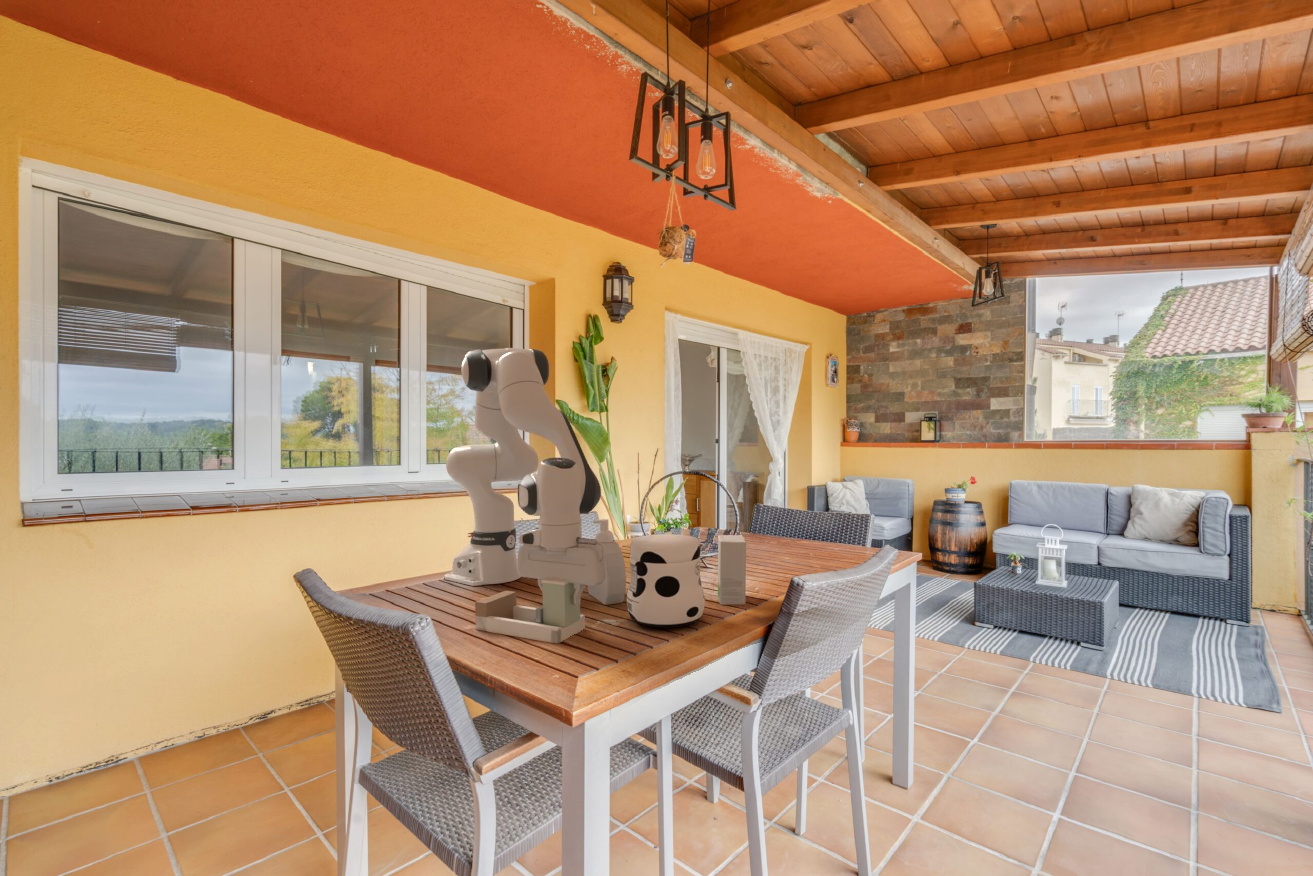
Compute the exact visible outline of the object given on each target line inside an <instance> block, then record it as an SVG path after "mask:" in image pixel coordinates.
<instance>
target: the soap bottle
mask: <svg viewBox="0 0 1313 876" xmlns="http://www.w3.org/2000/svg"><path fill="white" fill-rule="evenodd" d="M592 522H593V524H599V530H598V531H597V532H596V534H595V539H596V540H598V542H600V543H601V544H602V545H603V548H604V556H603V557H604V562H605V571H606V578H605V580H604V581H603V583H601V584H599V585H596V586H591V585H586V586H587V587H586V588H587V590H588V594H589V595H590V596H592V598H594V599H596V600H597V601H598V602H600V603H601V604H603V605H604V606H607V605H615V604H620V603H622V604H623V602H624V600H625V596H626V591H627V590H626V589H627V572H626V562H625V560H624V558H625V557H624V554H623V551H622V549H621V547H620V545H619V543H618V542H616V541H614V533H613V532H612V531H611V530H609V518H608V519H606V518H602V519H595V520H593V521H592ZM597 544H598V543H597ZM598 545H599V544H598Z"/></svg>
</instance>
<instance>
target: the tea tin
mask: <svg viewBox="0 0 1313 876" xmlns="http://www.w3.org/2000/svg"><path fill="white" fill-rule="evenodd" d="M575 591H576V589H575V588H574V583H568V581H560V580H551V579H543V580H542V591H541V592H542V606H543V624H549V625H555V626H562V627H566V626H568V625H570V624H572V623H574V622H576V621H578V620H580V614H581V603H580V604H578V605H574V604H570V601H571V600H570V596H571V595H573V594H574V593H575Z"/></svg>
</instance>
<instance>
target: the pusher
mask: <svg viewBox="0 0 1313 876" xmlns="http://www.w3.org/2000/svg"><path fill="white" fill-rule="evenodd" d="M536 608H537V609H536V619H534V620H532V621H530V622H532V623H539V624H543V605H541V606H539V607H536ZM545 625H549V624H545ZM551 626H555V625H551ZM557 627H559V626H557Z"/></svg>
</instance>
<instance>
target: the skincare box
mask: <svg viewBox="0 0 1313 876" xmlns="http://www.w3.org/2000/svg"><path fill="white" fill-rule="evenodd" d="M717 537H718V538H717V543H718V544H717V548H718V549H717V562H718V563H717V598H718V602H719V605H720V606H722V605H723V606H726V605H727V606H731V605H732V606H733V605H734V606H736V605H737V606H738V605H739V606H741V605H742V606H743V605H744V606H745V605H746V588H747V587H746V584H747V582H746V581H747V580H746V577H747V576H746V574H747V572H746V571H747V570H746V568H747V565H746V564H747V542H746V538H745V537H744V536H743V535H742V534H736V535H735V534H718V536H717Z"/></svg>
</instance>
